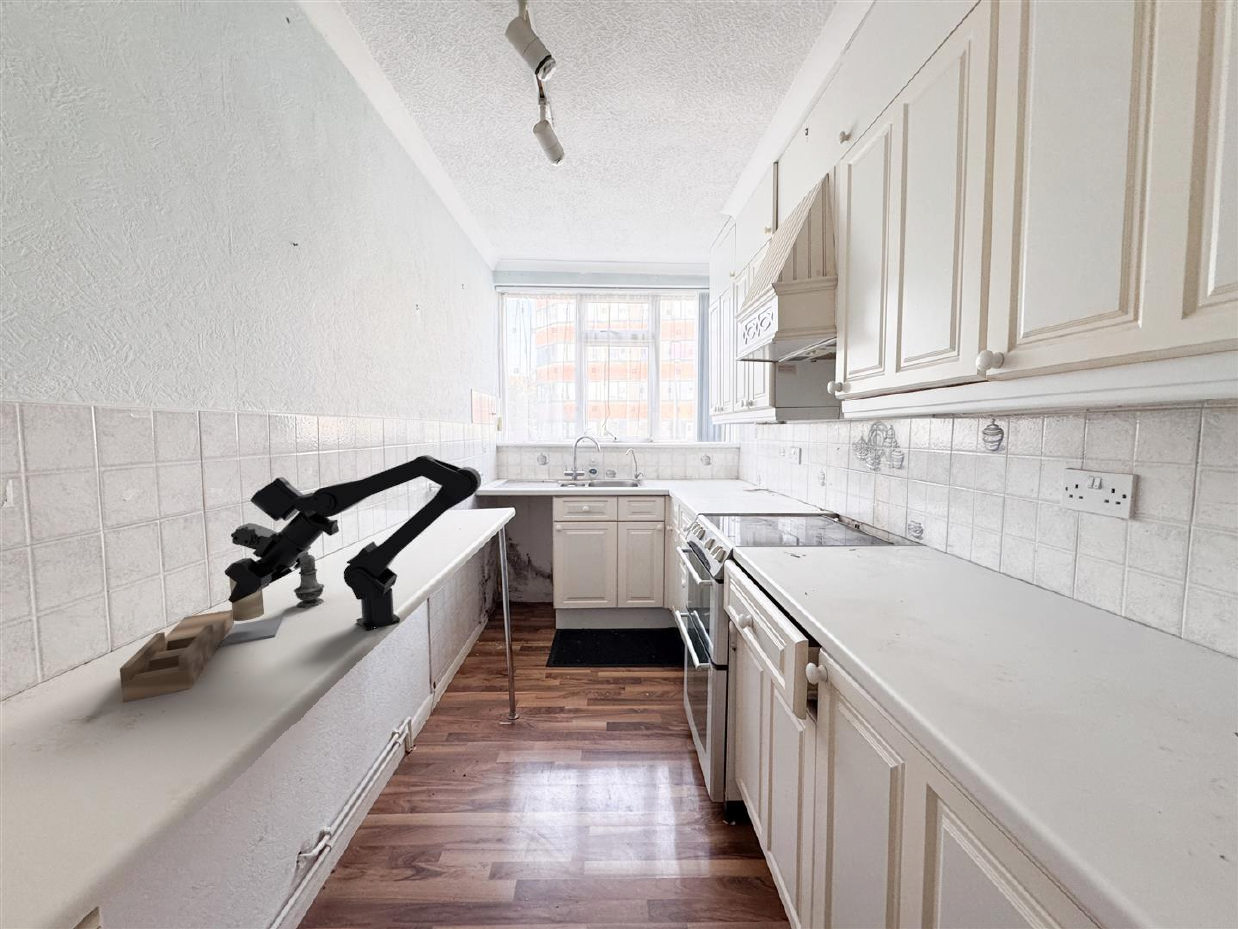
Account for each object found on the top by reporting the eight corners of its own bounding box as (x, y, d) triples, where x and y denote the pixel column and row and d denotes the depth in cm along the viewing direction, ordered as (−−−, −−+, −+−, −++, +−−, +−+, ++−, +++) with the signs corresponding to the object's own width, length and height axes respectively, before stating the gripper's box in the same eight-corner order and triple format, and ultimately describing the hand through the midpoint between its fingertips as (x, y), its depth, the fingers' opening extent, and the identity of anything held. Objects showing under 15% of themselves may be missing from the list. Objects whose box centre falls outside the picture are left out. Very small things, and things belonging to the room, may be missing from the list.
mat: (234, 626, 98) (234, 624, 98) (283, 618, 101) (282, 616, 101) (221, 645, 89) (221, 643, 89) (275, 636, 92) (274, 634, 92)
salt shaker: (331, 599, 113) (328, 548, 112) (312, 608, 107) (309, 554, 106) (307, 598, 113) (304, 547, 112) (288, 608, 107) (284, 554, 106)
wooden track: (186, 632, 95) (184, 607, 95) (234, 624, 99) (232, 600, 98) (122, 702, 70) (119, 668, 70) (189, 688, 74) (186, 656, 73)
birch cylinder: (266, 615, 94) (262, 575, 94) (234, 623, 91) (231, 581, 90) (261, 609, 98) (258, 570, 97) (231, 616, 94) (227, 576, 94)
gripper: (287, 502, 103) (233, 557, 102) (232, 518, 84) (166, 585, 83) (330, 536, 104) (277, 591, 104) (286, 559, 86) (221, 626, 85)
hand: (239, 596), depth 94 cm, fingers closed on birch cylinder, 5 cm apart
